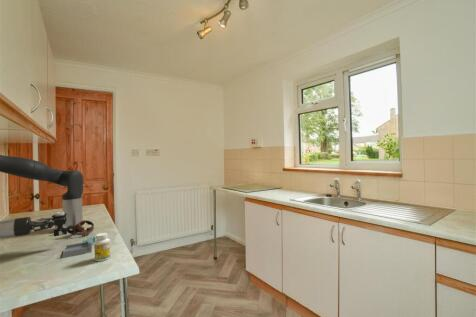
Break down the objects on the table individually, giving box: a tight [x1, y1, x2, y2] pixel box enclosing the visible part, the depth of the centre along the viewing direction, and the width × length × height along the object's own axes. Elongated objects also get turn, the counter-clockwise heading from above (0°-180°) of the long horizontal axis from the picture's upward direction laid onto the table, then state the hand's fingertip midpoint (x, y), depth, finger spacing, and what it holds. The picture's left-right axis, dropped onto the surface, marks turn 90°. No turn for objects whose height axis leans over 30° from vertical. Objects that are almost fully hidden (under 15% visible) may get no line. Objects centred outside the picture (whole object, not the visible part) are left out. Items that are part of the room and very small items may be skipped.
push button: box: [48, 211, 68, 237], centre depth 107 cm, size 7×5×10 cm
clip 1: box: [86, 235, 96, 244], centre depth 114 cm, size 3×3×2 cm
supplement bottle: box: [93, 232, 111, 262], centre depth 94 cm, size 5×5×10 cm
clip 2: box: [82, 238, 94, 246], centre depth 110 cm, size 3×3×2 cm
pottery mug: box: [67, 219, 95, 237], centre depth 125 cm, size 12×10×8 cm
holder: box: [61, 236, 93, 259], centre depth 103 cm, size 9×10×4 cm
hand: (65, 220), depth 108 cm, fingers closed on push button, 3 cm apart
